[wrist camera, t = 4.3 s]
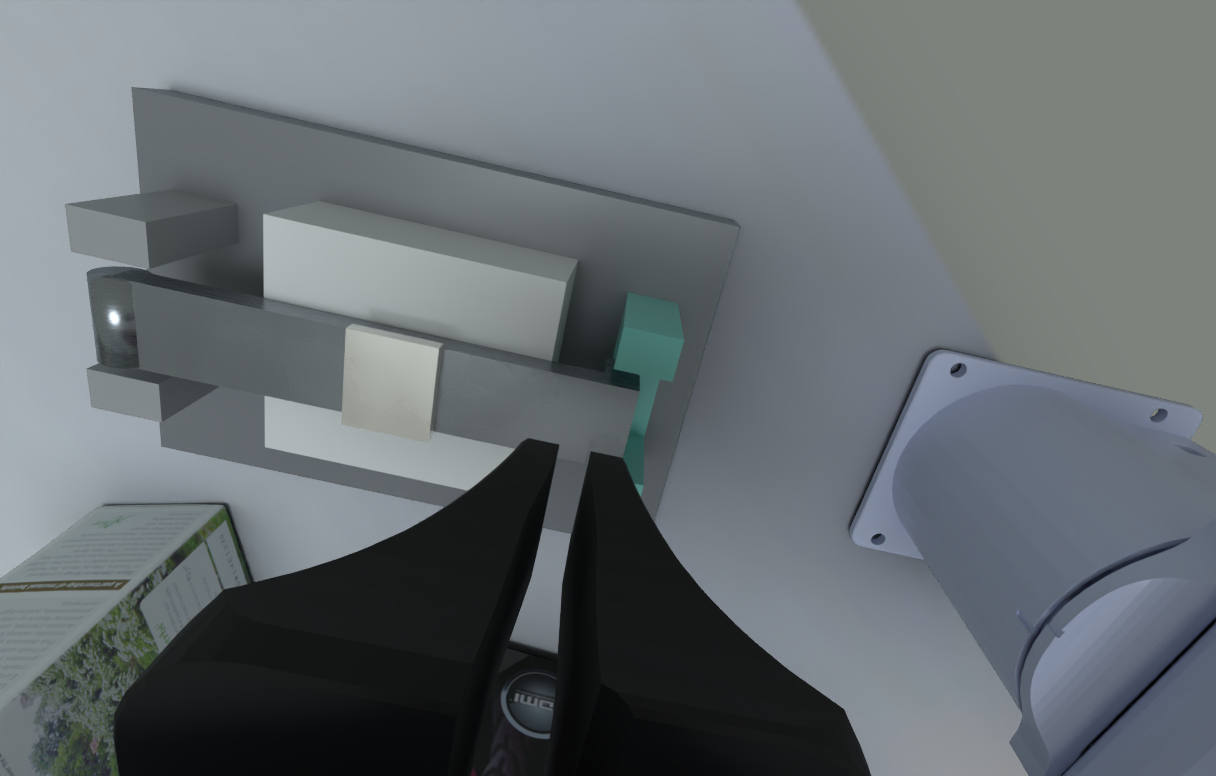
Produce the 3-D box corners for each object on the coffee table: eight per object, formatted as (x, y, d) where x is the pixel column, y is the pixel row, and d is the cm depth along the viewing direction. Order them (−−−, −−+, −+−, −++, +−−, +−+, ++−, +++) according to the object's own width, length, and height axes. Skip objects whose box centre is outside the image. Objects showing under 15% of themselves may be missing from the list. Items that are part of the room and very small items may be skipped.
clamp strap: (641, 360, 18) (641, 392, 16) (620, 442, 19) (617, 482, 17) (138, 249, 18) (67, 267, 16) (146, 340, 19) (81, 369, 17)
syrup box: (96, 502, 26) (-500, 911, 12) (233, 500, 25) (-232, 922, 12) (144, 610, 28) (-319, 1057, 15) (270, 610, 27) (-87, 1071, 14)
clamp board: (733, 219, 20) (761, 251, 15) (645, 525, 25) (645, 625, 20) (168, 89, 19) (6, 78, 14) (189, 427, 24) (72, 505, 19)
